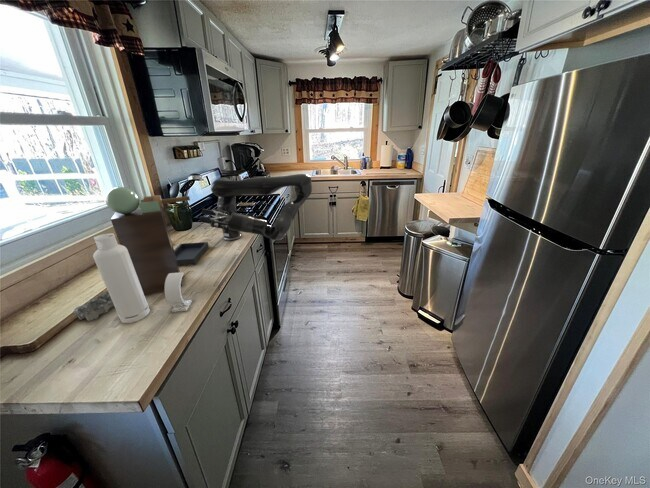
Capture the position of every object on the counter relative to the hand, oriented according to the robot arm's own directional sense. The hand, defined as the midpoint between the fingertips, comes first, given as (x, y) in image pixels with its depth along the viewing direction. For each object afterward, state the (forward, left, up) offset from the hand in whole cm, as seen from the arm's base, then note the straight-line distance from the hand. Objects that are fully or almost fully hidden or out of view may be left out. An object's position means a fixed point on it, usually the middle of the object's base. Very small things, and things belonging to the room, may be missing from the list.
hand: (200, 214), depth 105 cm
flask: (+12, -16, +6) cm, 21 cm away
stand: (+12, -16, -24) cm, 32 cm away
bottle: (+30, -16, -24) cm, 42 cm away
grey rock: (+26, -30, -25) cm, 47 cm away
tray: (-14, -16, -24) cm, 32 cm away
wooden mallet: (+8, -7, +6) cm, 12 cm away
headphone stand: (+28, -2, -24) cm, 38 cm away
